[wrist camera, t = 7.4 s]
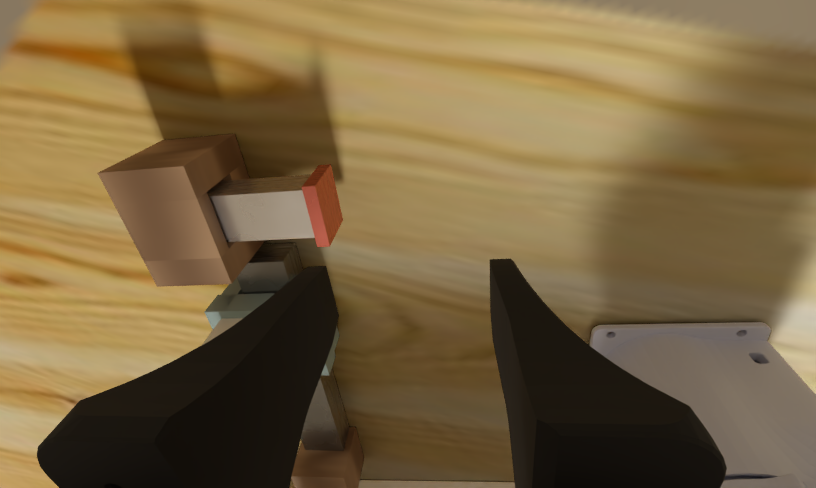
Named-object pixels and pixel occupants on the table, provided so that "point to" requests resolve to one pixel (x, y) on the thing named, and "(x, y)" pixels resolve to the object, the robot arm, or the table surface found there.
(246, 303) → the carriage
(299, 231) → the drawer
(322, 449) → the rail
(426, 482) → the gable box
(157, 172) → the cabinet near
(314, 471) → the brown cube
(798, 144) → the table surface
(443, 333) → the table surface
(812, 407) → the robot arm
